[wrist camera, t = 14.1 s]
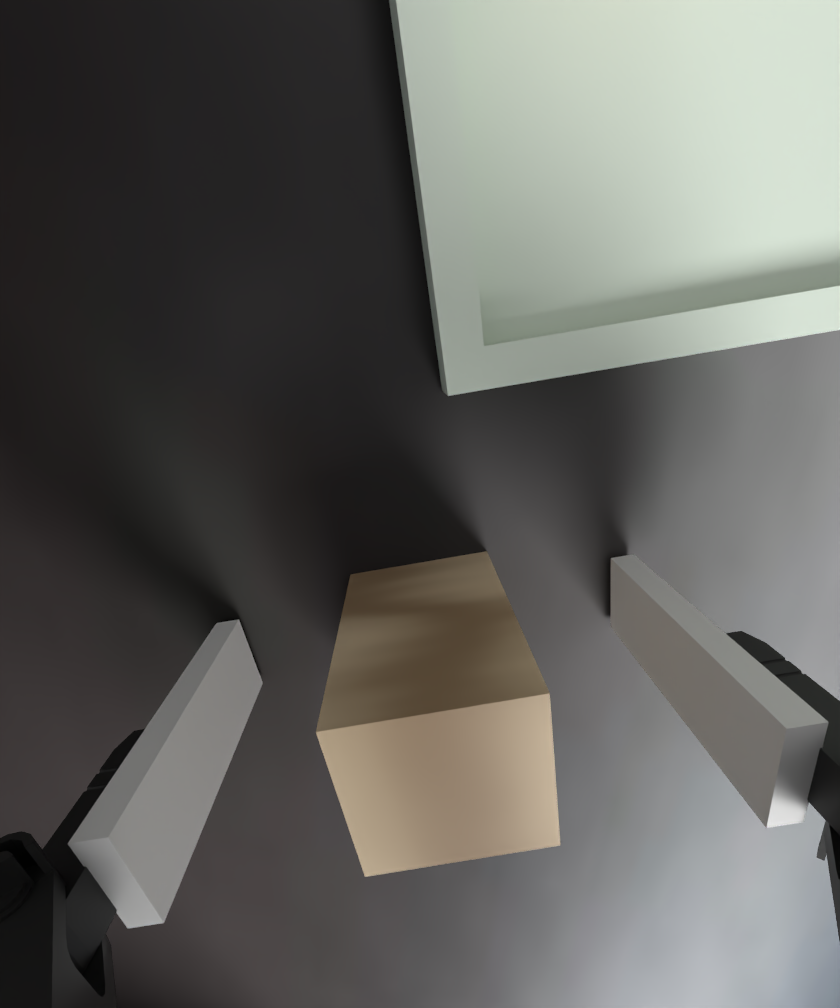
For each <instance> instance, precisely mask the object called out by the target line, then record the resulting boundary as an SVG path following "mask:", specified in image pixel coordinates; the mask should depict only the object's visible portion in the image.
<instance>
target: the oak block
mask: <svg viewBox="0 0 840 1008" xmlns="http://www.w3.org/2000/svg"><path fill="white" fill-rule="evenodd" d="M316 734H317V737H318V740H319V743H320V746H321V749H322V752H323V755H324V757H325V760H326V763H327V766H328V769H329V772H330V775H331V778H332V781H333V784H334V787H335V790H336V793H337V796H338V799H339V801H340V804H341V807H342V810H343V813H344V816H345V819H346V822H347V825H348V828H349V831H350V834H351V837H352V840H353V843H354V845H355V848H356V851H357V854H358V857H359V860H360V863H361V866H362V869H363V872H364V875H365V877H367V876H373V875H379V874H385V873H392V872H398V871H404V870H410V869H417V868H423V867H429V866H435V865H441V864H448V863H454V862H460V861H466V860H472V859H479V858H485V857H491V856H497V855H503V854H510V853H516V852H522V851H528V850H534V849H541V848H547V847H553V846H559V845H560V833H559V818H558V804H557V790H556V776H555V762H554V747H553V733H552V719H551V705H550V693H549V691H548V688H547V686H546V684H545V682H544V679H543V677H542V675H541V673H540V670H539V668H538V666H537V664H536V661H535V659H534V657H533V655H532V652H531V650H530V648H529V646H528V643H527V641H526V639H525V637H524V634H523V632H522V630H521V628H520V625H519V623H518V621H517V619H516V616H515V614H514V612H513V610H512V607H511V605H510V603H509V600H508V598H507V596H506V594H505V591H504V589H503V587H502V585H501V582H500V580H499V578H498V576H497V573H496V571H495V569H494V567H493V564H492V562H491V560H490V558H489V555H488V553H487V551H485V552H479V553H474V554H468V555H462V556H456V557H450V558H444V559H438V560H432V561H427V562H421V563H415V564H409V565H403V566H397V567H391V568H386V569H380V570H374V571H368V572H362V573H356V574H350V579H349V584H348V588H347V593H346V597H345V602H344V606H343V611H342V615H341V620H340V625H339V629H338V634H337V638H336V643H335V647H334V652H333V656H332V661H331V666H330V670H329V675H328V679H327V684H326V688H325V693H324V697H323V702H322V707H321V711H320V716H319V720H318V725H317V729H316Z"/></svg>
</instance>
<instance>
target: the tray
mask: <svg viewBox="0 0 840 1008" xmlns="http://www.w3.org/2000/svg"><path fill="white" fill-rule="evenodd" d="M389 5H390V12H391V19H392V27H393V34H394V41H395V49H396V56H397V63H398V71H399V78H400V85H401V93H402V100H403V107H404V115H405V122H406V129H407V137H408V144H409V151H410V159H411V166H412V174H413V181H414V188H415V196H416V203H417V210H418V218H419V225H420V232H421V240H422V247H423V254H424V262H425V269H426V276H427V284H428V291H429V298H430V306H431V313H432V320H433V328H434V335H435V343H436V350H437V357H438V365H439V372H440V379H441V387H442V391H443V392H444V393H445V394H446V395H448V396H451V395H457V394H463V393H468V392H474V391H480V390H486V389H492V388H498V387H504V386H510V385H516V384H522V383H528V382H534V381H539V380H545V379H551V378H557V377H563V376H569V375H575V374H581V373H587V372H593V371H599V370H605V369H611V368H616V367H622V366H628V365H634V364H640V363H646V362H652V361H658V360H664V359H670V358H676V357H682V356H687V355H693V354H699V353H705V352H711V351H717V350H723V349H729V348H735V347H741V346H747V345H753V344H758V343H764V342H770V341H776V340H782V339H788V338H794V337H800V336H806V335H812V334H818V333H824V332H830V331H835V330H840V0H389Z"/></svg>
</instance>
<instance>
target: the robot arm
mask: <svg viewBox="0 0 840 1008" xmlns="http://www.w3.org/2000/svg"><path fill="white" fill-rule="evenodd" d="M611 627H612V629H613V630H614V631H615V633H616V634H617V635H618V637H619V638H620V639H621V640H622V642H623V643H624V644H625V646H626V647H627V648H628V649H629V651H630V652H631V653H632V655H633V656H634V657H635V659H636V660H637V661H638V662H639V664H640V665H641V666H642V668H643V669H644V670H645V671H646V673H647V674H648V675H649V677H650V678H651V679H652V681H653V682H654V683H655V684H656V686H657V687H658V688H659V690H660V691H661V692H662V694H663V695H664V696H665V697H666V699H667V700H668V701H669V703H670V704H671V705H672V706H673V708H674V709H675V710H676V712H677V713H678V714H679V716H680V717H681V718H682V719H683V721H684V722H685V723H686V725H687V726H688V727H689V728H690V730H691V731H692V732H693V734H694V735H695V736H696V738H697V739H698V740H699V741H700V743H701V744H702V745H703V747H704V748H705V749H706V750H707V752H708V753H709V754H710V756H711V757H712V758H713V760H714V761H715V762H716V763H717V765H718V766H719V767H720V769H721V770H722V771H723V772H724V774H725V775H726V776H727V778H728V779H729V780H730V782H731V783H732V784H733V785H734V787H735V788H736V789H737V791H738V792H739V793H740V794H741V796H742V797H743V798H744V800H745V801H746V802H747V804H748V805H749V806H750V807H751V809H752V810H753V811H754V813H755V814H756V815H757V816H758V818H759V819H760V820H761V822H762V823H763V824H764V826H765V827H766V828H769V827H776V826H782V825H789V824H795V823H801V822H804V819H805V815H806V811H807V807H808V803H809V802H810V804H811V805H812V806H813V807H814V808H815V809H816V810H817V811H818V812H819V813H820V814H821V816H822V817H823V818H824V819H825V820H826V822H825V825H824V829H823V832H822V836H821V840H820V843H819V847H818V852H817V858H819V859H822V860H825V857H826V853H827V860H828V866H829V873H830V880H831V887H832V893H833V900H834V907H835V913H836V920H837V927H838V934H839V940H840V701H839V700H837V699H836V698H835V697H834V696H832V695H831V694H830V693H829V692H827V691H826V690H825V689H823V688H822V687H821V686H820V685H818V684H817V683H816V682H815V681H813V680H812V679H811V678H810V677H808V676H807V675H806V674H802V673H801V670H799V669H798V668H797V667H796V666H794V665H793V664H792V663H791V662H789V661H786V660H785V658H784V657H783V656H782V655H780V654H779V653H778V652H777V651H775V650H774V649H773V648H772V647H770V646H769V645H768V644H767V643H765V642H763V641H761V640H759V639H757V638H755V637H753V636H751V635H749V634H746V633H744V632H742V631H738V632H732V633H725V632H723V631H722V630H721V629H720V628H719V627H718V626H716V625H715V624H714V623H713V622H712V621H711V620H709V619H708V618H707V617H706V616H705V615H704V614H702V613H701V612H700V611H699V610H698V609H697V608H695V607H694V606H693V605H692V604H691V603H690V602H688V601H687V600H686V599H685V598H684V597H683V596H681V595H680V594H679V593H678V592H677V591H676V590H675V589H673V588H672V587H671V586H670V585H669V584H668V583H666V582H665V581H664V580H663V579H662V578H661V577H659V576H658V575H657V574H656V573H655V572H654V571H652V570H651V569H650V568H649V567H648V566H647V565H645V564H644V563H643V562H642V561H641V560H640V559H638V558H637V557H636V556H635V555H634V554H632V555H626V556H620V557H614V558H611ZM262 684H263V682H262V680H261V677H260V674H259V672H258V669H257V666H256V664H255V661H254V658H253V656H252V653H251V650H250V648H249V645H248V642H247V640H246V637H245V634H244V632H243V629H242V626H241V624H240V621H239V619H238V620H232V621H226V622H220V623H216V625H215V626H214V628H213V629H212V631H211V632H210V633H209V635H208V636H207V638H206V639H205V641H204V642H203V644H202V645H201V647H200V648H199V650H198V651H197V653H196V654H195V656H194V657H193V659H192V660H191V662H190V663H189V665H188V666H187V668H186V669H185V671H184V672H183V673H182V675H181V676H180V678H179V679H178V681H177V682H176V684H175V685H174V687H173V688H172V690H171V691H170V693H169V694H168V696H167V697H166V699H165V700H164V702H163V703H162V705H161V706H160V708H159V709H158V711H157V712H156V713H155V715H154V716H153V718H152V719H151V721H150V722H149V724H148V725H147V727H146V728H145V729H143V730H137V731H134V732H133V733H132V734H131V735H129V736H128V737H127V738H126V739H125V740H124V741H123V742H122V743H121V744H120V745H119V746H118V747H117V748H115V749H114V751H113V752H112V753H111V755H110V756H109V758H108V759H107V760H106V762H105V763H104V765H103V766H102V767H101V769H100V773H99V774H96V776H95V777H94V779H93V780H92V781H91V783H90V784H89V786H88V787H87V788H88V789H87V791H85V792H83V794H82V795H81V797H80V798H79V799H78V801H77V802H76V804H75V805H74V806H73V808H72V809H71V811H70V812H69V813H68V815H67V816H66V818H65V819H64V820H63V822H62V823H61V825H60V826H59V827H58V829H57V830H56V832H55V833H54V834H53V836H52V837H51V839H50V840H49V841H48V843H47V844H46V845H45V847H44V848H43V850H42V849H41V847H40V846H39V845H38V843H37V842H36V841H35V839H34V838H33V837H32V835H31V834H29V833H25V832H22V831H21V832H17V833H12V834H8V835H6V836H4V837H2V838H0V1008H117V1003H116V993H115V982H114V972H113V961H112V951H111V944H110V942H109V939H108V937H107V935H106V934H105V933H106V931H107V929H108V927H109V925H110V923H111V921H112V919H113V917H114V915H115V913H117V914H118V915H119V917H120V918H121V920H122V921H123V922H124V924H125V925H126V927H127V928H135V927H141V926H147V925H153V924H160V923H164V921H165V919H166V917H167V914H168V912H169V909H170V907H171V905H172V902H173V900H174V897H175V895H176V892H177V890H178V888H179V885H180V883H181V880H182V878H183V875H184V873H185V871H186V868H187V866H188V863H189V861H190V858H191V856H192V854H193V851H194V849H195V846H196V844H197V841H198V839H199V837H200V834H201V832H202V829H203V827H204V824H205V822H206V820H207V817H208V815H209V812H210V810H211V807H212V805H213V803H214V800H215V798H216V795H217V793H218V790H219V788H220V786H221V783H222V781H223V778H224V776H225V773H226V771H227V769H228V766H229V764H230V761H231V759H232V756H233V754H234V752H235V749H236V747H237V744H238V742H239V739H240V737H241V735H242V732H243V730H244V727H245V725H246V723H247V720H248V718H249V715H250V713H251V710H252V708H253V706H254V703H255V701H256V698H257V696H258V693H259V691H260V689H261V686H262Z"/></svg>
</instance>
